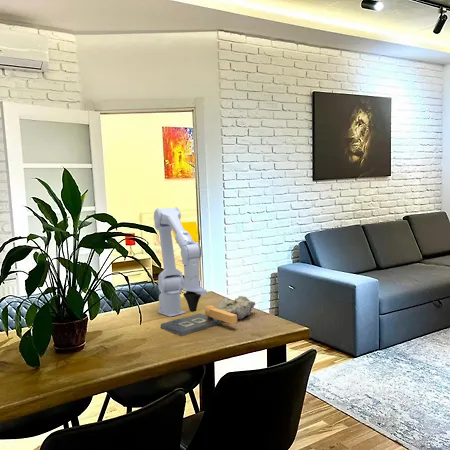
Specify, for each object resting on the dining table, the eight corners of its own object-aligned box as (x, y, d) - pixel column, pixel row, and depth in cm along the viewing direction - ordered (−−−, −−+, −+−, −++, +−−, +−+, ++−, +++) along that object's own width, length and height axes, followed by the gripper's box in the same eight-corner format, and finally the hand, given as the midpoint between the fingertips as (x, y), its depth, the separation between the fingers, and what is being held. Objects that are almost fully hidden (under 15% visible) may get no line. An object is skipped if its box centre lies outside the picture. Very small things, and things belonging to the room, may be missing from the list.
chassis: (160, 327, 175) (160, 322, 174) (200, 316, 187) (200, 311, 187) (181, 336, 165) (180, 330, 165) (221, 324, 177) (221, 318, 177)
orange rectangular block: (203, 315, 181) (203, 306, 180) (210, 313, 183) (210, 304, 183) (230, 324, 168) (230, 315, 168) (238, 322, 171) (238, 313, 170)
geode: (214, 333, 183) (249, 330, 177) (206, 314, 179) (242, 310, 174) (225, 307, 197) (258, 303, 192) (218, 289, 194) (251, 284, 188)
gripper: (171, 274, 176) (173, 309, 177) (195, 280, 165) (196, 317, 167) (186, 272, 181) (187, 305, 182) (210, 277, 170) (211, 313, 171)
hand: (193, 311), depth 175 cm, fingers closed
